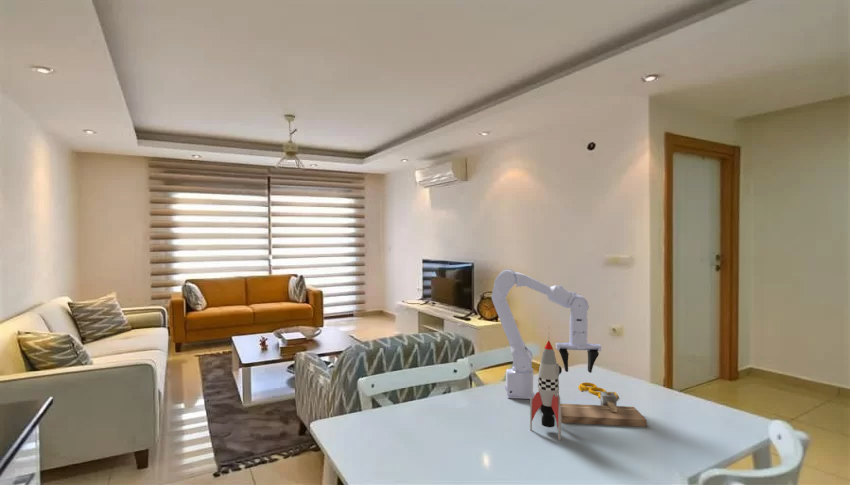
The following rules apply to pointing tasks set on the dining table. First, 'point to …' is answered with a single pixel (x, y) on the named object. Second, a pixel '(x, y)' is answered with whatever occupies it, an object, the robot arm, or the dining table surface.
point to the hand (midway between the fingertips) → (577, 371)
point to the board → (601, 415)
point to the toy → (547, 391)
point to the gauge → (609, 400)
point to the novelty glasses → (584, 387)
